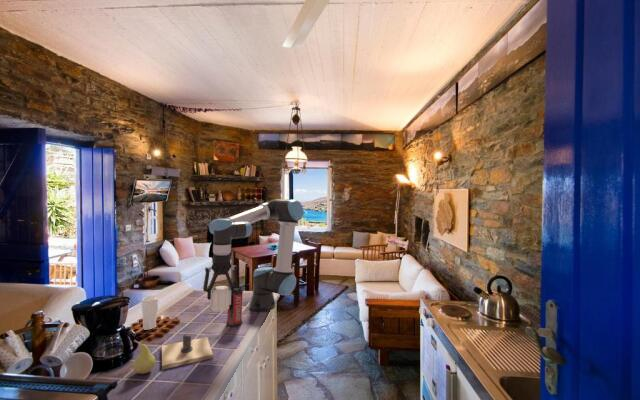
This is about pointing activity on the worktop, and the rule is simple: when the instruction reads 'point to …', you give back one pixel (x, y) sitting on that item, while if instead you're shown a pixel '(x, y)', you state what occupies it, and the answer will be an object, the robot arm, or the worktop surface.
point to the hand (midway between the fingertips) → (220, 305)
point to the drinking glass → (149, 311)
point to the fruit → (144, 360)
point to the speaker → (235, 308)
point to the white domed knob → (220, 298)
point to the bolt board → (186, 352)
